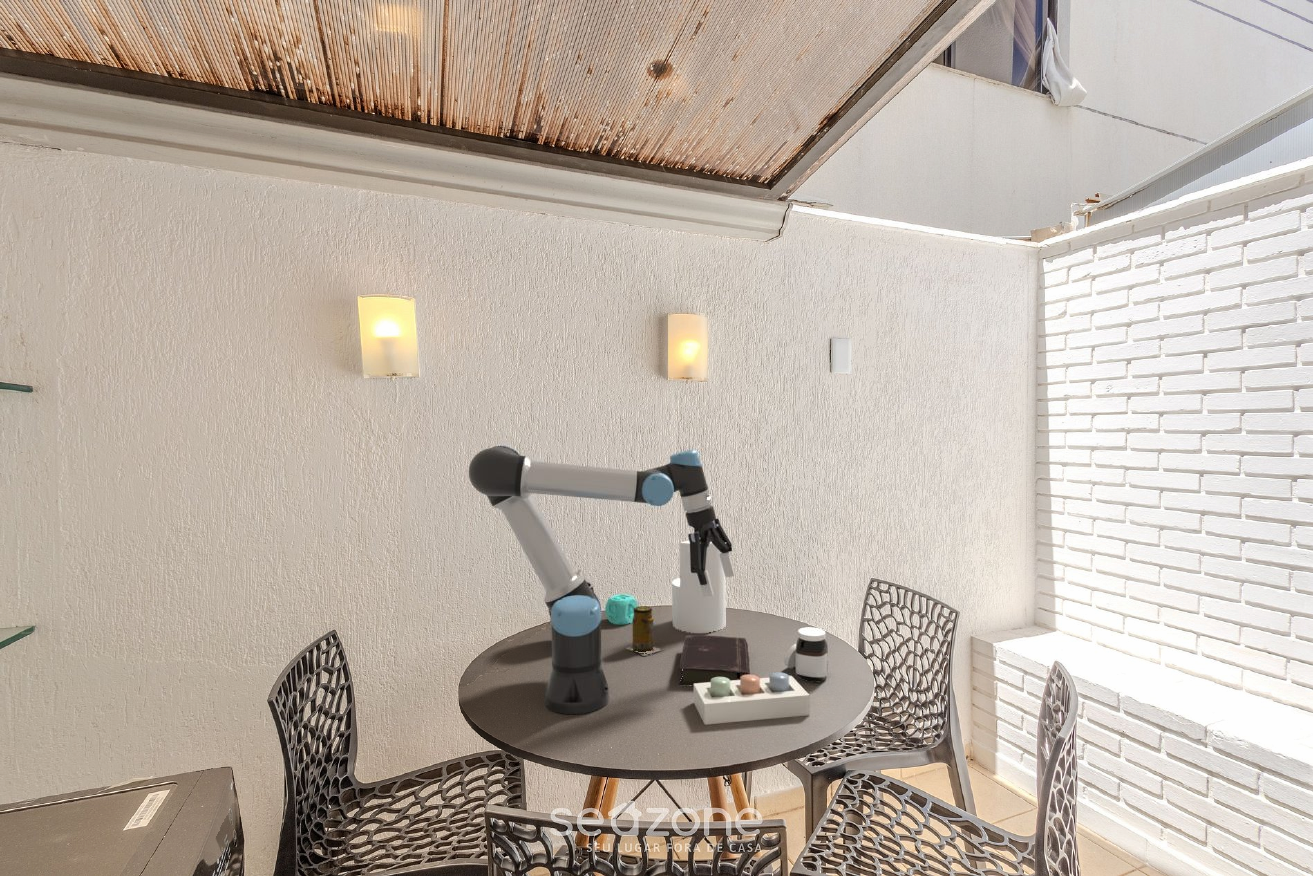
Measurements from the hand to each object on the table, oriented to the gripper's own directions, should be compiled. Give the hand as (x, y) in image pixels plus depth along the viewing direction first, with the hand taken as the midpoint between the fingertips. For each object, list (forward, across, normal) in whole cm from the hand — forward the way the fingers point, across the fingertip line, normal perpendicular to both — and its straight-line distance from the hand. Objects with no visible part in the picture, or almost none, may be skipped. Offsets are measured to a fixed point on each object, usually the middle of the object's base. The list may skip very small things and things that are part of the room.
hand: (720, 585), depth 166 cm
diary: (+22, -2, +7) cm, 23 cm away
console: (+22, -20, -11) cm, 32 cm away
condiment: (+17, 0, +30) cm, 35 cm away
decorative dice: (+16, +19, +51) cm, 57 cm away
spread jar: (+28, +5, -15) cm, 32 cm away
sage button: (+17, -24, -6) cm, 30 cm away
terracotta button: (+19, -20, -12) cm, 30 cm away
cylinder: (+22, +28, +28) cm, 45 cm away
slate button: (+21, -15, -17) cm, 31 cm away
